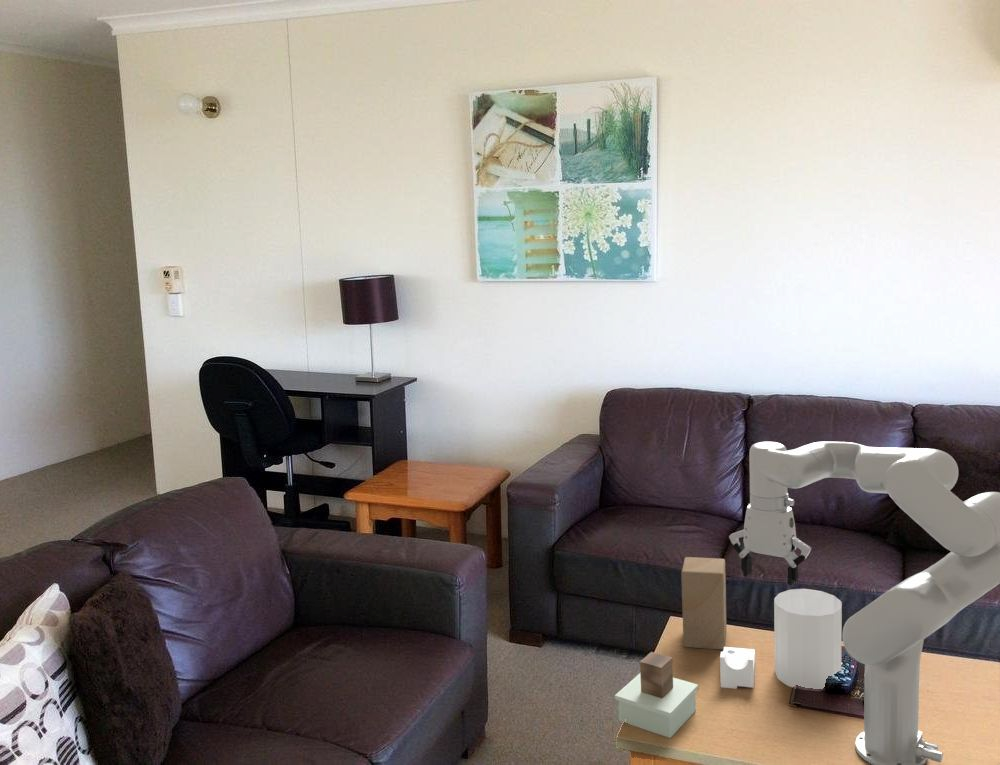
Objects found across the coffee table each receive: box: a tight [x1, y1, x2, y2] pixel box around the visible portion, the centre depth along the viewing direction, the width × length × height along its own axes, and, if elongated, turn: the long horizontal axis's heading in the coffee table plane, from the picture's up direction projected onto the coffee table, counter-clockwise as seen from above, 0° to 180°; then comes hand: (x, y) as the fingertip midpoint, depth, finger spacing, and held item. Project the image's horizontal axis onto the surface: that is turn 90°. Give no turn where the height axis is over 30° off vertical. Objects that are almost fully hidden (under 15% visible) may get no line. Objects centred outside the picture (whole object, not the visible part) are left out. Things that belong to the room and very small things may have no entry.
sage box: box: [614, 672, 699, 739], centre depth 186 cm, size 13×13×6 cm
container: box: [773, 588, 843, 689], centre depth 197 cm, size 14×14×18 cm
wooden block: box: [680, 556, 727, 651], centre depth 217 cm, size 10×10×20 cm
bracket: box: [719, 646, 756, 689], centre depth 200 cm, size 13×7×8 cm, turn 162°
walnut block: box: [639, 651, 674, 698], centre depth 185 cm, size 5×5×7 cm
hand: (769, 578), depth 184 cm, fingers open, 9 cm apart
